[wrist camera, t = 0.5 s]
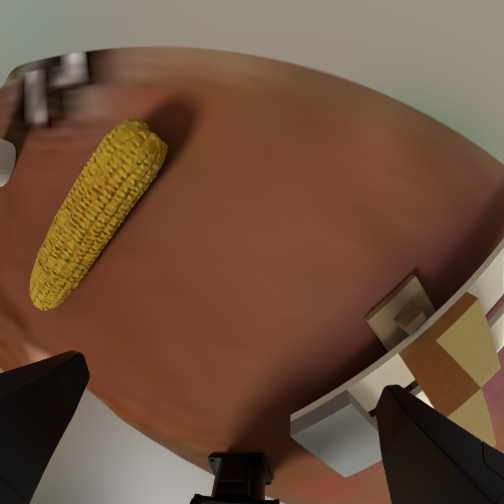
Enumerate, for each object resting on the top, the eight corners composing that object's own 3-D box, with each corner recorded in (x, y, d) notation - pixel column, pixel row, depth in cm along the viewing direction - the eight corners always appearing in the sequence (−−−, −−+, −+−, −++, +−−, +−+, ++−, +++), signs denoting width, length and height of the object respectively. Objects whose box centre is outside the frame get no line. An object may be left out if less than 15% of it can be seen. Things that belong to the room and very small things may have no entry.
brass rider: (431, 406, 21) (467, 467, 11) (395, 349, 20) (442, 421, 11) (487, 356, 19) (537, 402, 10) (462, 289, 19) (533, 329, 9)
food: (145, 124, 23) (116, 100, 17) (186, 157, 23) (163, 136, 17) (42, 286, 24) (6, 297, 19) (71, 322, 25) (37, 340, 19)
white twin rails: (342, 458, 23) (345, 477, 20) (290, 414, 23) (290, 436, 20) (547, 278, 17) (562, 283, 14) (526, 205, 17) (545, 206, 14)
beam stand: (425, 407, 24) (438, 422, 20) (363, 317, 23) (378, 331, 20) (461, 372, 23) (477, 384, 20) (410, 274, 23) (430, 281, 19)
